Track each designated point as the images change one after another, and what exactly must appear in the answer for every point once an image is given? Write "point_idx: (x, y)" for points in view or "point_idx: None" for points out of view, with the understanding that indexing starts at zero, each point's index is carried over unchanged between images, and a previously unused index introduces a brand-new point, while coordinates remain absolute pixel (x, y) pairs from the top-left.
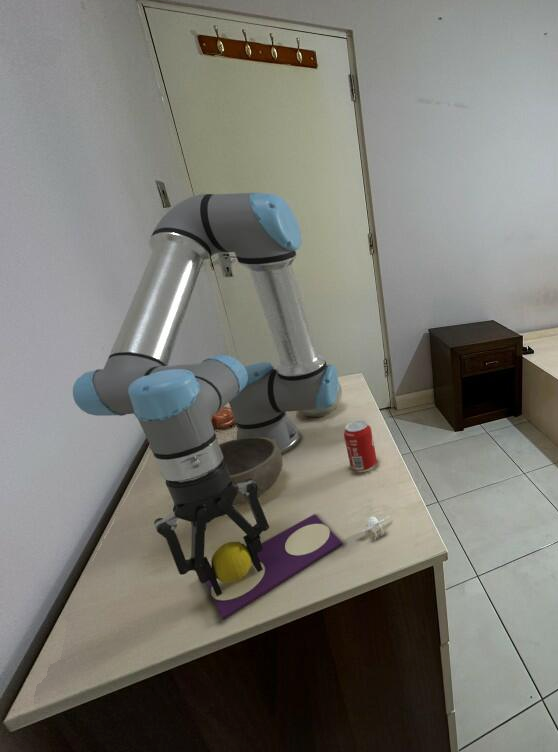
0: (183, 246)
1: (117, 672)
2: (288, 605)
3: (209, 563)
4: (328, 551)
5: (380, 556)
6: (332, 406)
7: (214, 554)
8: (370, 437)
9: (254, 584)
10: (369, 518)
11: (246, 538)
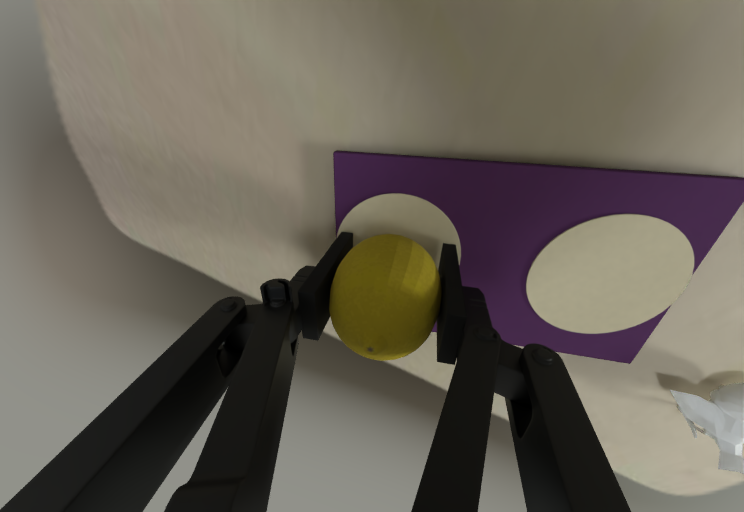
0: None
1: (193, 262)
2: (432, 375)
3: (317, 332)
4: (584, 355)
5: (622, 435)
6: None
7: (337, 315)
8: None
9: None
10: None
11: (450, 332)
